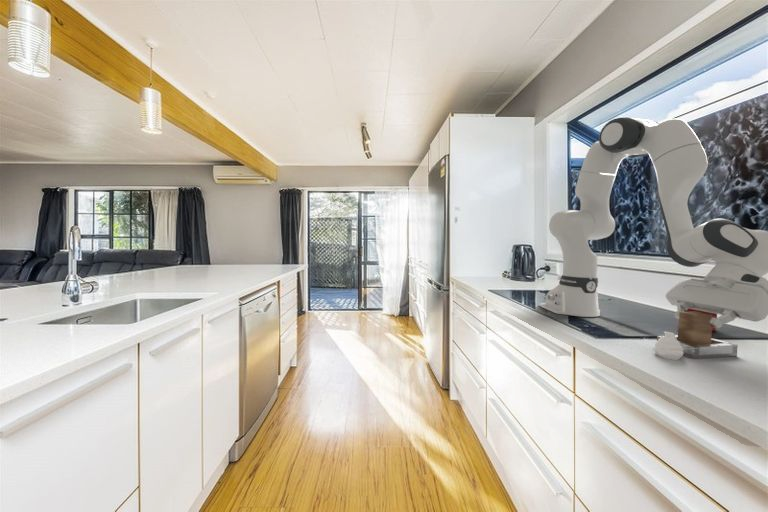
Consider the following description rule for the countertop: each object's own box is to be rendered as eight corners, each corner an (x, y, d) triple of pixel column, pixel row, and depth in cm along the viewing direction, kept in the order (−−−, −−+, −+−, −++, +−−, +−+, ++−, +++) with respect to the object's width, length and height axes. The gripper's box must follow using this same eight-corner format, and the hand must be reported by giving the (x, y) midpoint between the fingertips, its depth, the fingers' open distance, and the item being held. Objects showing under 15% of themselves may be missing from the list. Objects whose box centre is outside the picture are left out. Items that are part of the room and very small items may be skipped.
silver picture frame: (656, 346, 87) (657, 336, 87) (696, 344, 89) (696, 334, 89) (693, 358, 78) (694, 347, 78) (736, 356, 81) (737, 344, 80)
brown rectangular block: (677, 345, 85) (679, 311, 85) (692, 345, 86) (695, 311, 86) (694, 351, 81) (696, 315, 81) (710, 350, 82) (712, 314, 82)
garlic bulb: (676, 330, 82) (690, 336, 76) (674, 353, 82) (688, 361, 77) (650, 328, 83) (662, 334, 78) (649, 351, 83) (660, 359, 78)
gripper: (679, 270, 94) (648, 304, 93) (775, 279, 74) (737, 323, 73) (690, 285, 95) (660, 319, 94) (788, 298, 75) (751, 342, 74)
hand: (695, 321), depth 83 cm, fingers open, 7 cm apart
